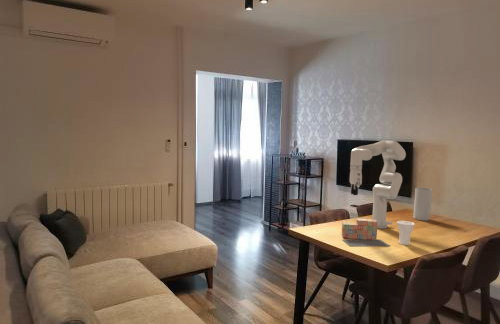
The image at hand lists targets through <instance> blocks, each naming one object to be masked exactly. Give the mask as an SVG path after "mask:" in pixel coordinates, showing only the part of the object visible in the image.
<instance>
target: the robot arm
mask: <svg viewBox="0 0 500 324" xmlns="http://www.w3.org/2000/svg"><path fill="white" fill-rule="evenodd" d="M379 155H381V156H382V159H383V163H384V164H383V167H382V170H381V173H380V175H379V182H380V183H376V184H375V185H374V186H373V187H372V197H373V198H372V199H373V202H372V214H371V215H372V218H371V220H376V221H377V229H381V230H382V229H383V230H384V229H387V228H388V225H392V224H393V222H392V221H387V207H388V203H387V199H388V200H395V199H396V198H397V196H398V194H399V191H400V189H401V185H402V183H403V176H402V174H401V173H399V172H396V169H397V166H396V164H395V162H394V160H395V161H403V160H405V158H406V156H407V153H406V151H405V149H404V148H403V146H402V145H401V144H400V143H399V142H397V140H387V139H385V140H384V139H383V140H380V141H378V142H375V143H371V144H367V145H366V144H365V145H360V146H358V147H355V148H353V149H352V150H351V152H350V163H349V164H350V167H349V170H350V172H349V183H350V188H351V189H350V195H353V196H358V194H359V188H360V186H362V182H363V174H362V173H363V172H362V170H363V161H369V160H371V159H372V158H373V157H375V156H379Z"/></svg>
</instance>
